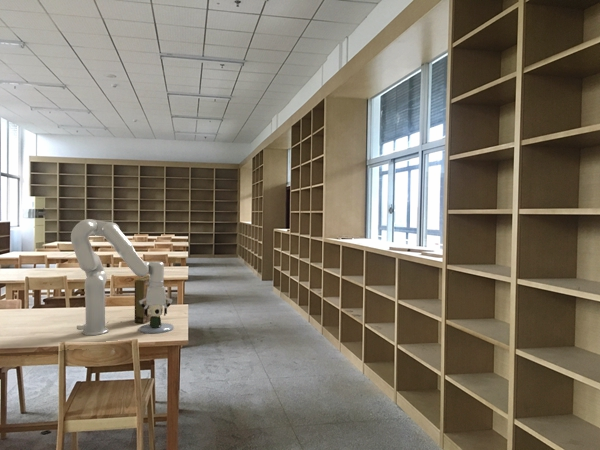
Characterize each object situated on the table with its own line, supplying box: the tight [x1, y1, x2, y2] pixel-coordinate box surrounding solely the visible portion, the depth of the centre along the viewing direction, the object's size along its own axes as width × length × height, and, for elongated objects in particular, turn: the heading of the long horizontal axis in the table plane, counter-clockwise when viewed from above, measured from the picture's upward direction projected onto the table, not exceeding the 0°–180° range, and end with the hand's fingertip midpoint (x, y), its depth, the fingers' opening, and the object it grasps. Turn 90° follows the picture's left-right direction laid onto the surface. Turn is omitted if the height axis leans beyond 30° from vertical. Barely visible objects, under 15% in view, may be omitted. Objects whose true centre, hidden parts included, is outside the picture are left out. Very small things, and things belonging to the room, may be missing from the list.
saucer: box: [138, 322, 175, 334], centre depth 260 cm, size 18×18×1 cm
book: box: [134, 275, 152, 324], centre depth 278 cm, size 16×6×25 cm, turn 168°
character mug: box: [148, 305, 164, 328], centre depth 259 cm, size 11×7×13 cm, turn 152°
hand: (155, 315), depth 259 cm, fingers open, 9 cm apart
